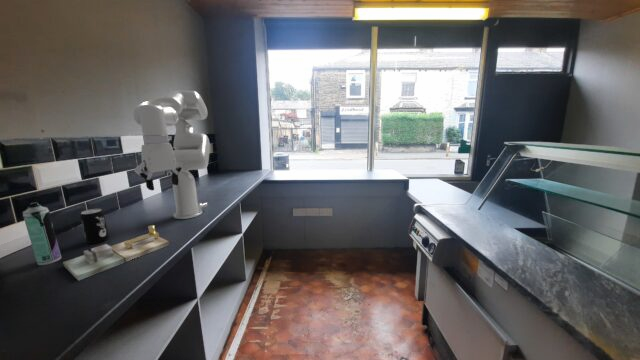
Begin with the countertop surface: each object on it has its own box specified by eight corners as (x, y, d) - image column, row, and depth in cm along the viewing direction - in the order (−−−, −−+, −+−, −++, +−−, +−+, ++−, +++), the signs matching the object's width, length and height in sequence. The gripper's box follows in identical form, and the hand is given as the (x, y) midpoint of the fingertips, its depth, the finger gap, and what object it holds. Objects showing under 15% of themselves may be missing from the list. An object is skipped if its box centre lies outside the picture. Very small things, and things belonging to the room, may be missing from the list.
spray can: (65, 257, 84) (50, 200, 80) (43, 266, 79) (26, 206, 75) (55, 255, 86) (40, 199, 81) (33, 263, 81) (15, 204, 76)
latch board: (151, 236, 99) (149, 225, 98) (169, 245, 92) (167, 233, 91) (64, 266, 79) (60, 253, 78) (78, 280, 71) (74, 266, 70)
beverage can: (96, 245, 93) (88, 214, 90) (82, 243, 94) (74, 213, 91) (113, 237, 99) (107, 208, 96) (100, 236, 100) (93, 207, 98)
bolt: (156, 236, 95) (154, 224, 94) (159, 237, 94) (157, 225, 93) (125, 246, 87) (122, 234, 86) (128, 248, 86) (125, 235, 85)
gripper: (175, 138, 100) (181, 181, 104) (123, 141, 86) (132, 191, 90) (185, 139, 96) (191, 183, 100) (133, 142, 82) (142, 194, 86)
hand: (163, 187), depth 95 cm, fingers open, 8 cm apart
